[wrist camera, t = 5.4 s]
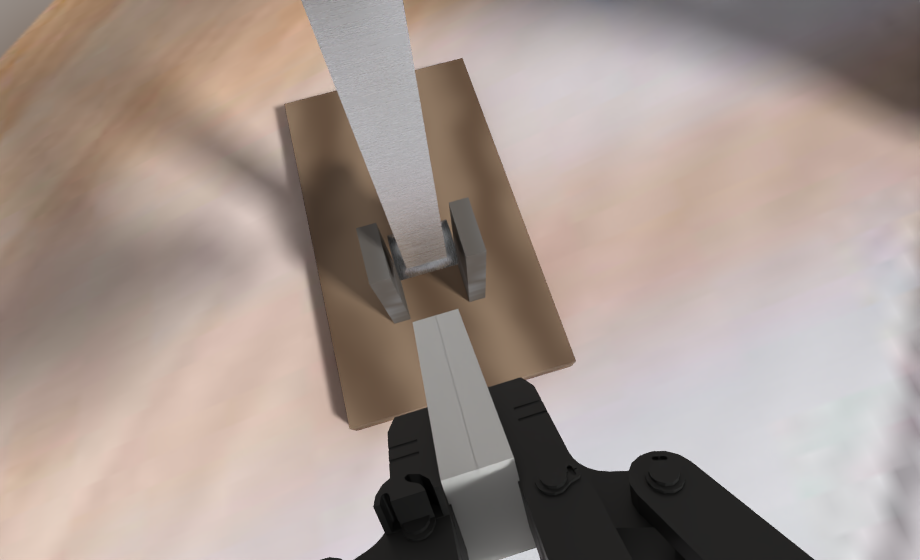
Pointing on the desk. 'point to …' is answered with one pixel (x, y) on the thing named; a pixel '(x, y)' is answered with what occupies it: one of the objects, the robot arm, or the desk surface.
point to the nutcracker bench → (456, 287)
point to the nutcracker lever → (386, 122)
